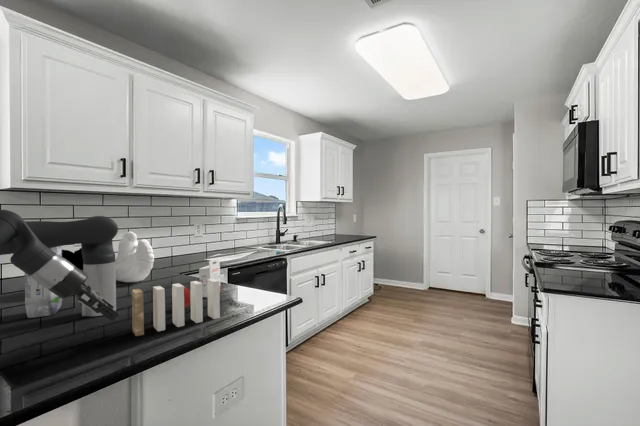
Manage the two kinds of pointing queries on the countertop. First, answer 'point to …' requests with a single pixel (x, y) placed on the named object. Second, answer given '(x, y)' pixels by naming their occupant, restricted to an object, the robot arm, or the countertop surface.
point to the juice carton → (41, 296)
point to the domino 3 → (196, 301)
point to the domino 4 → (213, 298)
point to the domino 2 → (178, 304)
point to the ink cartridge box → (209, 275)
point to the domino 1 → (159, 308)
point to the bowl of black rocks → (74, 257)
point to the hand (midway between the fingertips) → (113, 313)
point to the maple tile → (137, 312)
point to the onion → (186, 297)
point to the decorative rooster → (133, 259)
